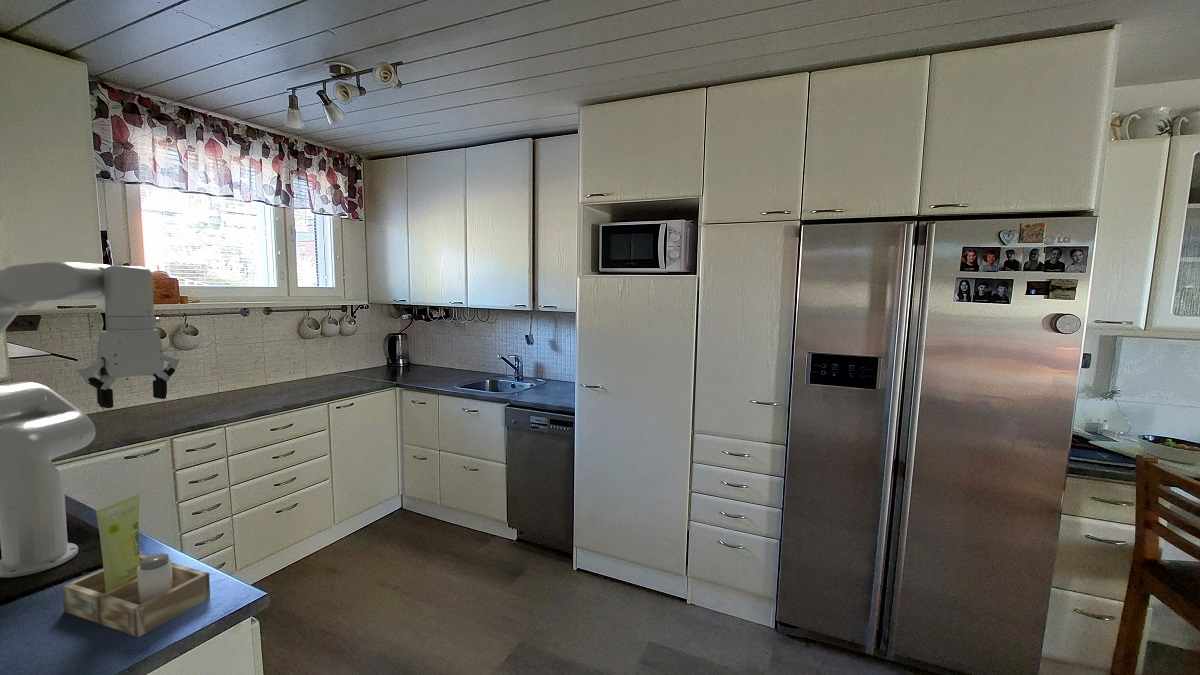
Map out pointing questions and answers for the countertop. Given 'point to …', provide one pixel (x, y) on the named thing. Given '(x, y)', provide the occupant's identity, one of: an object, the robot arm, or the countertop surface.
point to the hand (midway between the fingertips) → (134, 402)
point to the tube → (119, 541)
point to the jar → (154, 577)
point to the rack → (135, 600)
